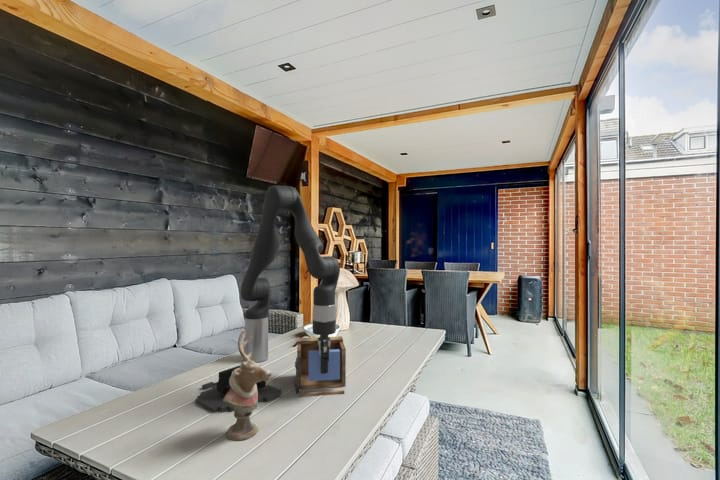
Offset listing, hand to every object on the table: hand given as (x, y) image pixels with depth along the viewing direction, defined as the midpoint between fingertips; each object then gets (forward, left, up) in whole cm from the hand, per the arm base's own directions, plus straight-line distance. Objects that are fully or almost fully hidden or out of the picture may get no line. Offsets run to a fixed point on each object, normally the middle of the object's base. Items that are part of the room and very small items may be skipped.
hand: (324, 371), depth 114 cm
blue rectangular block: (0, 0, -2) cm, 2 cm away
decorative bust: (-21, -23, -7) cm, 32 cm away
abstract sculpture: (-28, +1, -7) cm, 29 cm away
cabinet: (-1, +6, -6) cm, 9 cm away
